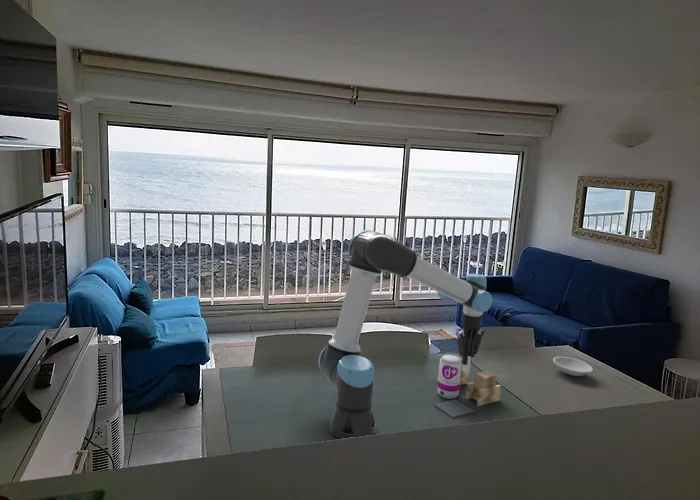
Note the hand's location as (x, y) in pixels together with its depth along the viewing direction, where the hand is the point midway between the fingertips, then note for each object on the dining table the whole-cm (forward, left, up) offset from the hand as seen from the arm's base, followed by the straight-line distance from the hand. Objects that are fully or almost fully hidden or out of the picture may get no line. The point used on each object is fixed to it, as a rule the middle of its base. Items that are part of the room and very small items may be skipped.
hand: (465, 371), depth 192 cm
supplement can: (-8, 0, -8) cm, 12 cm away
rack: (+2, 0, -8) cm, 8 cm away
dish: (+57, -7, -8) cm, 58 cm away
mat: (-14, -10, -8) cm, 19 cm away
